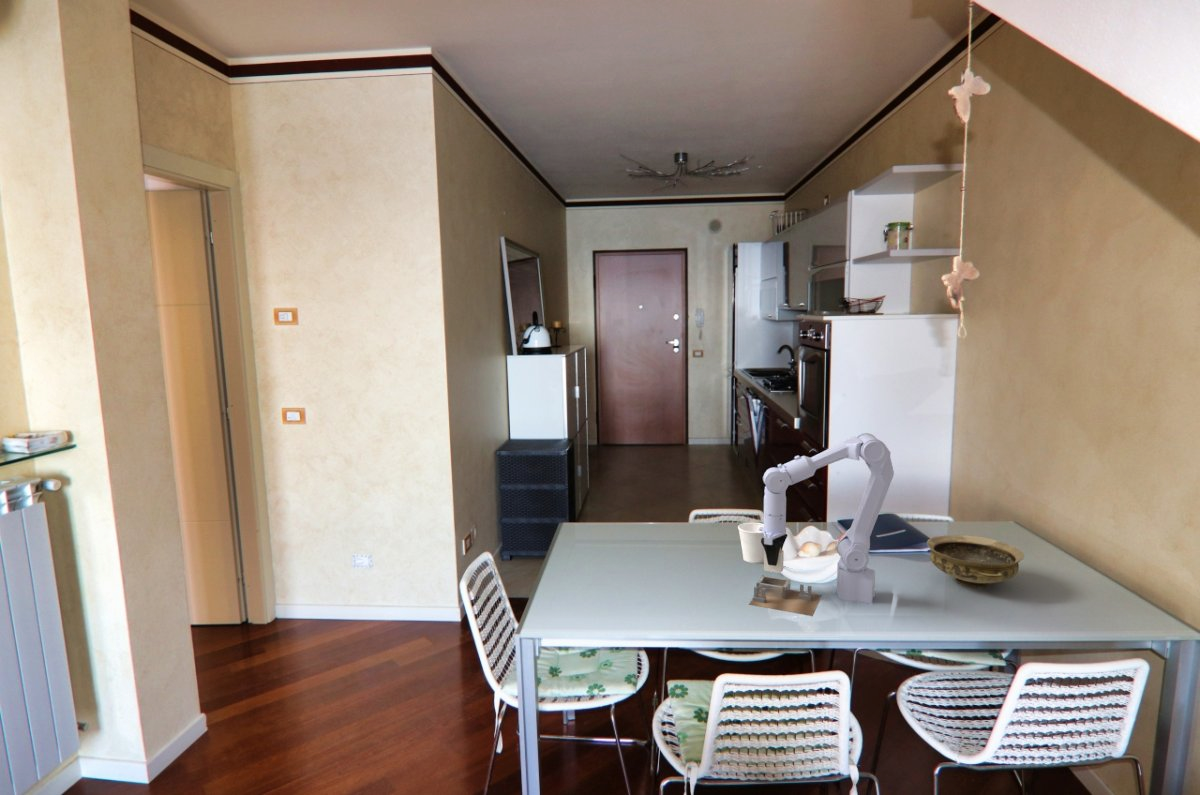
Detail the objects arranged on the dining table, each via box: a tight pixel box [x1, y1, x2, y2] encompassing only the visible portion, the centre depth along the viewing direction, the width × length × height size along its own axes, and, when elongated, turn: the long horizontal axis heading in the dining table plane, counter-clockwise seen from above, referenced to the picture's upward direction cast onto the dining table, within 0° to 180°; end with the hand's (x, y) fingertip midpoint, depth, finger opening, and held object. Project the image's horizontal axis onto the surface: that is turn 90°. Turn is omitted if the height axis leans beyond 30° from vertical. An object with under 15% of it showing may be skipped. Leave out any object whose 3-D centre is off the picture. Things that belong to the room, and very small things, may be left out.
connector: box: [763, 548, 785, 574], centre depth 186 cm, size 4×3×6 cm, turn 63°
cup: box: [737, 522, 765, 565], centre depth 211 cm, size 10×10×11 cm
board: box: [748, 589, 823, 617], centre depth 182 cm, size 16×14×1 cm
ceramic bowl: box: [926, 534, 1025, 588], centre depth 194 cm, size 30×24×10 cm
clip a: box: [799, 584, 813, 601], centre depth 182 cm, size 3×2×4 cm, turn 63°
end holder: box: [755, 575, 792, 599], centre depth 187 cm, size 8×6×3 cm
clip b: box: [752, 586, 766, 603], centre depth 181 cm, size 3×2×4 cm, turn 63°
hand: (773, 562), depth 186 cm, fingers closed on connector, 3 cm apart
